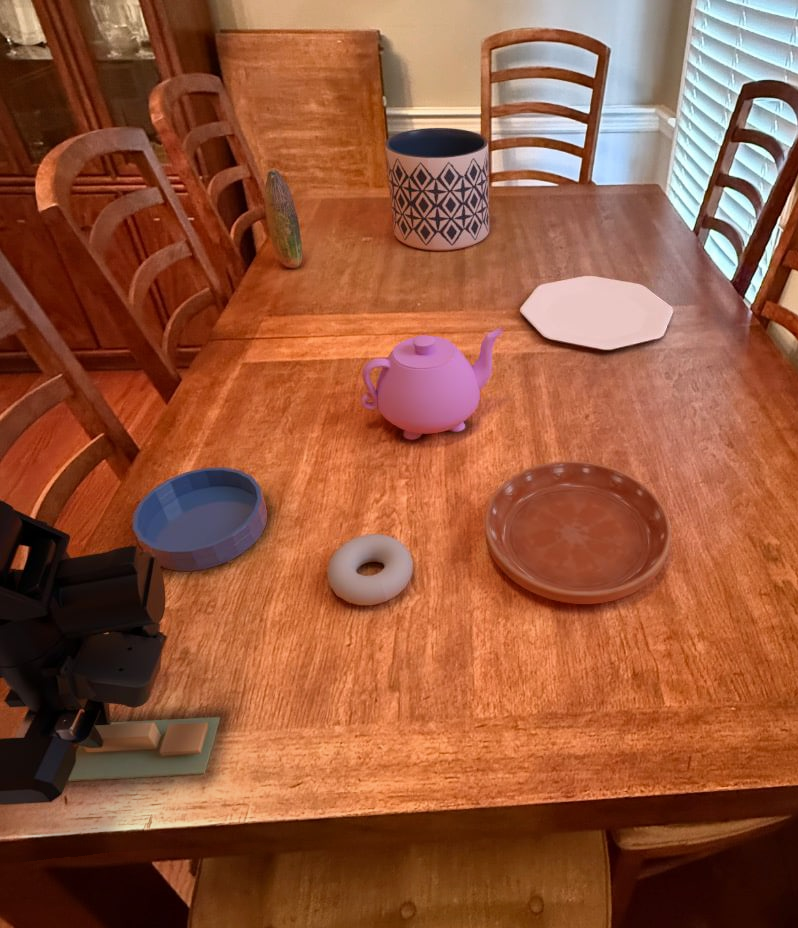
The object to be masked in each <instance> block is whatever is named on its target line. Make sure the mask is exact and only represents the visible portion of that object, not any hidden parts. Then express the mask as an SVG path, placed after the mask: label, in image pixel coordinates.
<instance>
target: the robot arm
mask: <svg viewBox="0 0 798 928" xmlns="http://www.w3.org/2000/svg"><path fill="white" fill-rule="evenodd" d="M70 540H71V535H70V534H68V533H66V532H65V531H62V530H60V529H57V528H55V527H54V526H51V525H49V524H48V523H47V522H46V521H45V522H44V521H43V520H39V519H36V518H34V517H32V516H30V515H28V514H25V513H23V512H21V511H19V510H16V509H14V507H13V505H10V504H8V502H6V501H3V500H1V499H0V679H3V681H4V682H5V683H6V684H7V686H8V687H9V688H10V689H9V691H8V693H7V695H6V696H5V699H4V701H3V702H4V703H5V704H6V705H7V706H8V707H9V708H27V709H28V710H27V712H26V713H25V715H24V718H23V720H22V722H21V724H20V726H19V727H18V729H17V731H16V733H15V735H14V737H7V738H0V806H7V805H24V804H26V805H27V804H40V803H41V804H45V803H52V802H53V801H55V800H57V799H58V798H59V797H60V796H62V795H63V792H64V790H65V789H66V786H67V784H68V782H69V781H68V779H69V777H70V774H71V772H72V770H73V767H74V765H75V763H76V751H77V747H76V746H83V747H88V748H101V747H102V746H103V740H102V738H101V735H100V733H99V732H98V730H97V728H96V727H95V725H111V722H112V721H111V709H110V704H113V705H120V706H125V707H127V708H140V707H142V706H144V705H145V704H146V703H147V702H148V701H149V699H150V697H151V694H152V691H153V689H154V685H155V683H156V681H157V677H158V675H159V673H160V671H161V667H162V666H161V665H162V656H163V650H164V646H165V645H166V641H167V640H168V637H167V635H166V634H164V632H162V631H160V630H161V624H160V622H162V620H163V619H164V616H165V613H166V612H165V611H166V600H167V599H166V587H165V579H164V575H163V571H162V567H160V565H159V562H158V560H157V558H156V557H153V556H152V555H151V554H150V553H148V552H144V551H142V552H140V551H139V549H138V547H137V546H135V545H128V546H122V547H117V548H114V549H112V550H108V551H104V552H98V553H93V554H92V553H91V554H87V555H80V556H76V557H75V556H74V557H71V556H70V554H69V553H68V547H69V545H70V542H71V541H70ZM20 546H23V547H29V548H30V550H29V552H28V554H27V557H26V560H25V563H24V566H23V569H21V568H20V569H17V568H12V567H13V565H14V561H15V559H16V556H17V554H18V552H19V549H20Z"/></svg>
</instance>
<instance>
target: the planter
mask: <svg viewBox="0 0 798 928" xmlns="http://www.w3.org/2000/svg"><path fill="white" fill-rule="evenodd" d="M384 149H385V159H386V161H385V162H386V169H387V171H386V172H387V180H388V189H389V191H388V192H389V200H390V208H391V209H390V210H391V218H392V228H393V234H394V236H395V238H396V239H397V240H398V241H399V242H401V243H403V244H405V245H407V246H409V247H411V248H415V249H419V250H425V251H434V252H435V251H437V252H439V251H441V252H445V251H455V250H460V249H464V248H469V247H471V246H473V245H476V244H479V243H480V242H481V241H483V240H484V239H485V238H486V237H487V236H488V234H489V233H490V173H489V172H490V170H489V169H490V165H489V164H490V163H489V141H488V139H487V138H486V137H485V136H484V135H482V134H480V133H478V132H475V131H471V130H468V129H461V128H454V127H453V128H451V127H428V128H425V127H424V128H418V129H417V128H416V129H411V130H406V131H402V132H399V133H395V134H394V135H392V136H390V137H388V139H387V138H386V141H385V142H384Z"/></svg>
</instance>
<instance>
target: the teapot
mask: <svg viewBox="0 0 798 928" xmlns="http://www.w3.org/2000/svg"><path fill="white" fill-rule="evenodd" d="M504 331H505V329H504V328H497V329H494V330H492V331H490V332H489V333H487V335H485V337H483V339H482V342H481V344H480V351H479V356H478V359H477V360H476V361H475V362H474V363H473V364H472V365H471V363H470V362H469V361H468V359H467V358H466V356H465V355H464V354H463V353H462V351H461V350H460V349H459V348H458V347H457V346H456V345H455V344H454V343H453V342H452V341H450V340H449V339H447V338H444V337H441V336H436V335H428V334H422V335H421V334H420V335H417V336H413V337H410V338H407V339H404V340H402V341H401V342H399V343H397V344H396V345H395V346H394V347H393V348H392V350H391V351H390V353H389V354H388V356H387V358H383V357H378V358H377V357H376V358H374V359H371V360H369V361H368V362H366V363H365V365H364V366H363V367H362V372H361V375H362V380H363V384H364V386H365V388H366V390H367V392H366V393H365V394H363V395H362V397H361V398H360V403H361V406H362V408H363V409H365V410H367V411H376V410H377V409H378V411H379V412H380V414H381V415H382V417H383V418H384V419H385V420H386V421H387V422H390V423H391V424H392V425H394V426H396V427H397V428H399V429H401V430H403V437H404V438H405V439H406V440H417V439H419V438H420V437H421V436H422V435H423V434H426V435H427V434H437V433H442V432H446V431H451V432H452V433H453V432H454V433H458V432H462V431H463V430H464V429H466V424H465V421H466V420H467V419H468V418H470V417H471V416H472V415H473V413H474V412H475V411H476V409H477V408H478V405H479V403H480V399H481V393H480V392H481V390H482V389H484V387H485V386H486V385H487V384H488V382H489V380H490V378H491V376H492V372H493V349H494V345H495V343H496V341H497V340H498V338H499V337H500V336H501V335H502V334H503V333H504ZM379 368H381V369H380V372H379V375H378V377H377V381H376V387H375V386H374V384H373V382H372V381H371V377H370V373H371V371H373V370H375V369H379ZM368 400H372V401H368Z"/></svg>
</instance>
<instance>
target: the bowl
mask: <svg viewBox="0 0 798 928" xmlns="http://www.w3.org/2000/svg"><path fill="white" fill-rule="evenodd" d="M139 501H140V502H139V503H138V505H137V506H136V509H135V510H134V512H133V515H132V531H133V533H134V535H135V538H136V540H137V541H138V544H139V545H140V547H141V550H142V552H148V553H150V554H151V555H152V556H153V557H156V558H157V560H158V562H159V565H160V567H161V568H163V569H166V570H170V571H175V572H195V571H201V570H208V569H210V568H215V567H217V566H221V565H223V564H225V563H229V562H230V561H232V560H234V559H236V558H237V557H239V556H241V555H242V554H243V553H245V552H246V551H248V550H249V549H250V548H251V547H252V546H253V545H254V544H255V543H256V542H257V541H258V540H259V538H260V537H261V536H262V534H263V532H264V531H265V528H266V525H267V521H268V510H267V505H266V500H265V498H264V494H263V490H262V487H261V485H260V484H259V483H258V481H256V479H255V478H254V477H253V476H252V475H250V474H248V473H246V472H244V471H242V470H240V469H236V468H230V467H225V466H223V467H222V466H221V467H220V466H219V467H217V466H216V467H203V468H198V469H193V470H189V471H185V472H182V473H180V474H178V475H175V476H173V477H171V478H168V479H166V480H165V481H163V482H162V483H160V484H159V485H157V486H156V487H154V488H152V489H151V490H150V491H149V492H148V493H147V494H146V495H145V496H144V497H143V498H142V499H141V500H139Z"/></svg>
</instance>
